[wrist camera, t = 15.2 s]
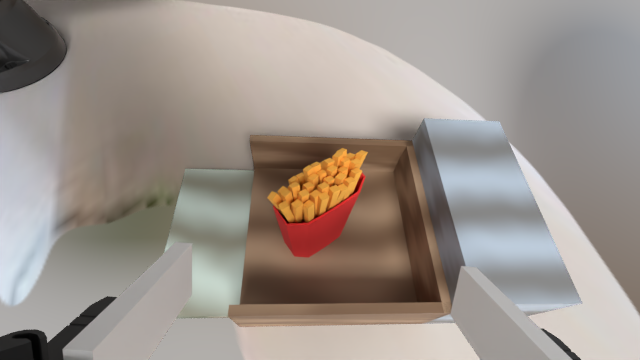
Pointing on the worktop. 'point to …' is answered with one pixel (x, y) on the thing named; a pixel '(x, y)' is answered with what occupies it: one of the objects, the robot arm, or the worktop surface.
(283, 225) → the french fries
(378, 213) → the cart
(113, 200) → the worktop surface
